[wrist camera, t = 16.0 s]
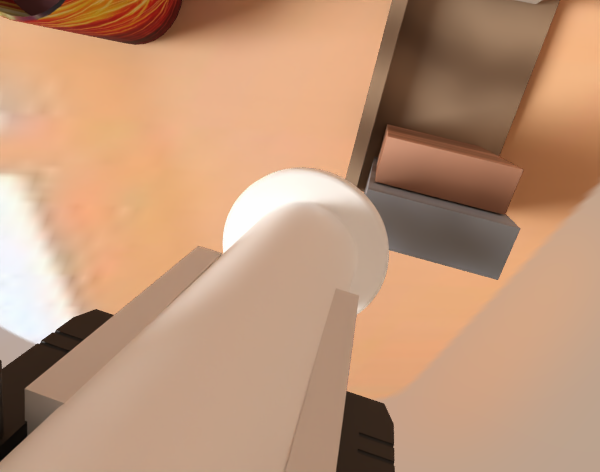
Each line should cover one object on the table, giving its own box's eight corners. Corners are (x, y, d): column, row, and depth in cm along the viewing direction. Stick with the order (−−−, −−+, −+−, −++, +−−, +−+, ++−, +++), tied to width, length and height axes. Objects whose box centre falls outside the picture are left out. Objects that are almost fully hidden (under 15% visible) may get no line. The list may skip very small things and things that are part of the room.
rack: (435, -156, 28) (478, -376, 15) (605, -129, 27) (812, -341, 14) (345, 184, 36) (323, 233, 23) (471, 217, 35) (521, 288, 22)
